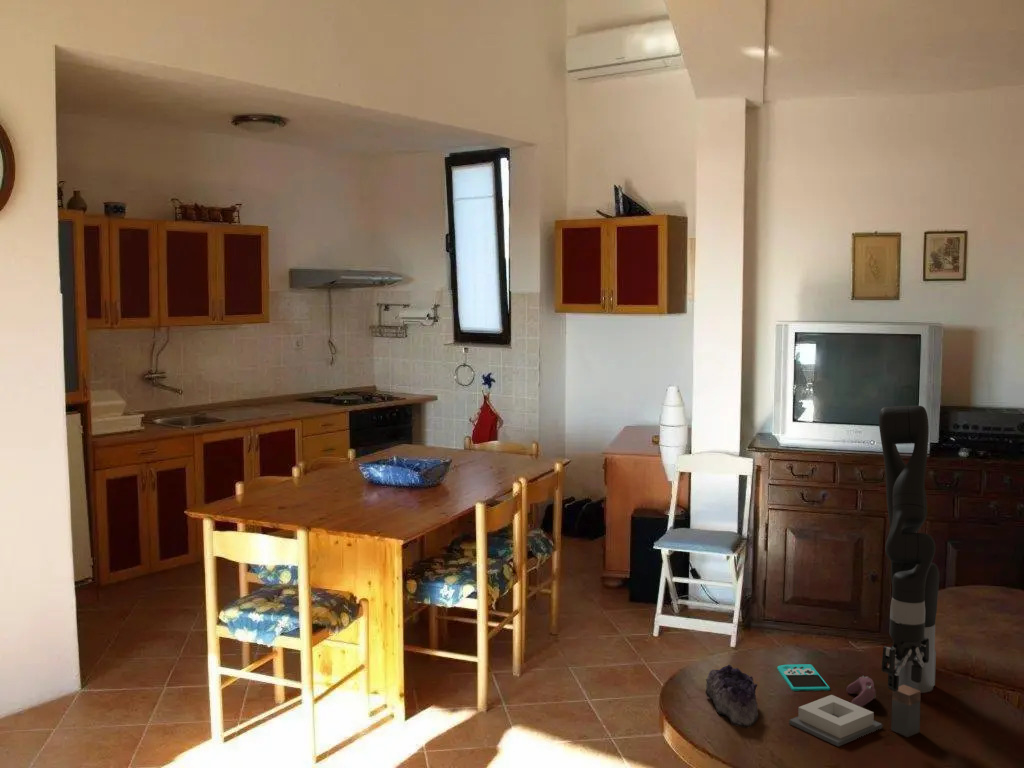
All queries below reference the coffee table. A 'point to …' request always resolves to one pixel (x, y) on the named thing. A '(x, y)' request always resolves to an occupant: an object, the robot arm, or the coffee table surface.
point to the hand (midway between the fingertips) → (904, 685)
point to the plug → (906, 711)
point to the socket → (835, 720)
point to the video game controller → (862, 691)
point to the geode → (733, 695)
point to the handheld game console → (802, 677)
